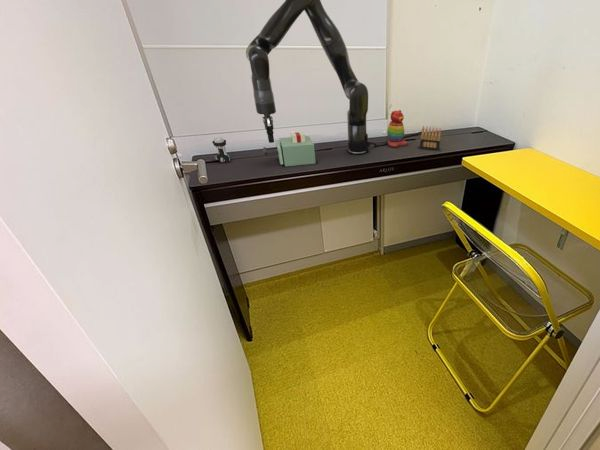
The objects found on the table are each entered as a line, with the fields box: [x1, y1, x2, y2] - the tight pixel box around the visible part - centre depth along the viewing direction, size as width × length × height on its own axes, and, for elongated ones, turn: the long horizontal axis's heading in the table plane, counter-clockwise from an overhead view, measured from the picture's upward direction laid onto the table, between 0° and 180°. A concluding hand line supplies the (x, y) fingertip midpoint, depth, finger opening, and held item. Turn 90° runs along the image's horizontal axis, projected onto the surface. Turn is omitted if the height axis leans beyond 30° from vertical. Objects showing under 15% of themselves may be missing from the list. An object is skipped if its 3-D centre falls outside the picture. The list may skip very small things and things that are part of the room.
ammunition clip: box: [419, 125, 442, 151], centre depth 166 cm, size 11×2×12 cm, turn 83°
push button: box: [212, 137, 231, 163], centre depth 138 cm, size 7×5×10 cm
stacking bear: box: [386, 109, 408, 148], centre depth 168 cm, size 11×10×18 cm
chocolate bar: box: [290, 131, 306, 143], centre depth 140 cm, size 6×4×3 cm
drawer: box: [262, 140, 284, 165], centre depth 142 cm, size 18×11×7 cm, turn 114°
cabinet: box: [278, 135, 317, 168], centre depth 143 cm, size 14×12×9 cm
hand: (271, 142), depth 137 cm, fingers closed
